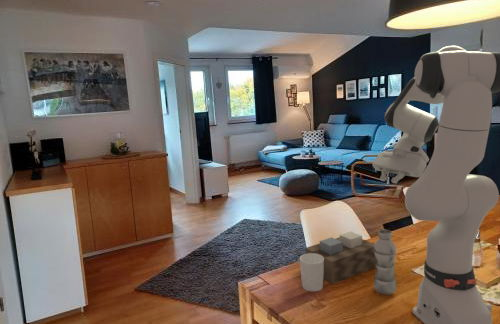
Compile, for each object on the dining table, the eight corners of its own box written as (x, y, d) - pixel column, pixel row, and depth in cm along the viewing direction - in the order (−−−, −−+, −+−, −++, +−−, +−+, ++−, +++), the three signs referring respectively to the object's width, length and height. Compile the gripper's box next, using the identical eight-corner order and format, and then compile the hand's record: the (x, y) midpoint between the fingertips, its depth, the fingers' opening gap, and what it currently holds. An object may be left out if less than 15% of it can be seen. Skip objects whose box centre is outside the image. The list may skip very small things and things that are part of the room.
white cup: (319, 279, 124) (318, 251, 122) (328, 290, 116) (327, 261, 115) (297, 282, 123) (296, 254, 121) (304, 294, 115) (304, 265, 113)
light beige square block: (350, 241, 136) (350, 231, 136) (362, 246, 131) (362, 235, 131) (339, 245, 134) (339, 234, 133) (350, 250, 129) (350, 239, 128)
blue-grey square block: (331, 247, 132) (331, 237, 131) (342, 252, 127) (342, 242, 126) (320, 251, 129) (319, 241, 128) (330, 257, 124) (330, 246, 123)
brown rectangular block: (349, 253, 143) (349, 234, 142) (378, 266, 131) (378, 245, 130) (306, 268, 132) (305, 247, 131) (332, 284, 120) (332, 261, 119)
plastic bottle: (398, 298, 110) (399, 236, 107) (374, 296, 111) (375, 235, 108) (394, 287, 116) (395, 228, 113) (372, 286, 118) (372, 227, 114)
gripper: (379, 144, 145) (362, 172, 142) (426, 149, 127) (407, 180, 124) (386, 154, 148) (370, 181, 145) (433, 160, 130) (415, 191, 127)
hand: (387, 181), depth 134 cm, fingers open, 4 cm apart
